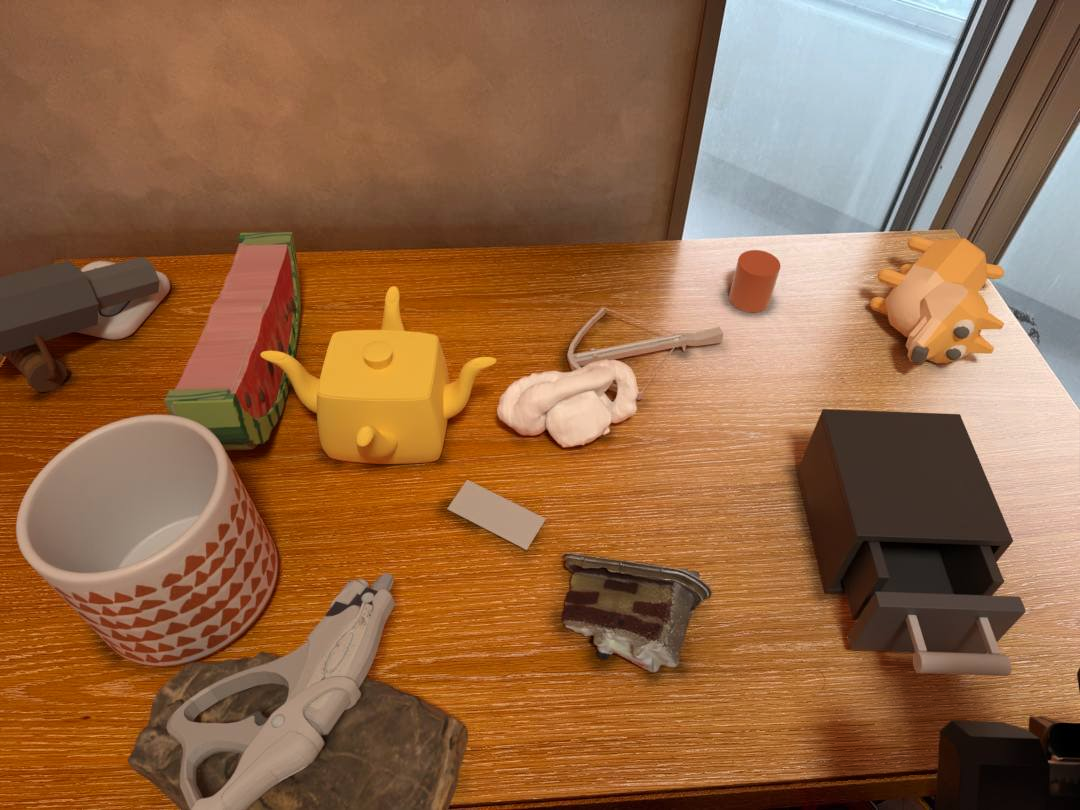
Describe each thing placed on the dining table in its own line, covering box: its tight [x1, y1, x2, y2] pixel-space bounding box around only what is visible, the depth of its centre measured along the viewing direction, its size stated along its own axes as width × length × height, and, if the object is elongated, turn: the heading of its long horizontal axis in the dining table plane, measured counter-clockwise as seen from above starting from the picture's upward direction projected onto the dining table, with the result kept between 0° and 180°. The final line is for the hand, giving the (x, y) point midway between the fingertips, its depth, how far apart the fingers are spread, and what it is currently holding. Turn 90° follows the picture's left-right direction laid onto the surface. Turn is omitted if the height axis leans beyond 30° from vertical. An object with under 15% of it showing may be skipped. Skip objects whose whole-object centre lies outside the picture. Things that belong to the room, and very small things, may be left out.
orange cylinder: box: [728, 249, 781, 313], centre depth 89 cm, size 4×4×5 cm
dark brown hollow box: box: [796, 408, 1014, 595], centre depth 68 cm, size 12×11×8 cm
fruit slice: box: [163, 231, 302, 451], centre depth 76 cm, size 26×6×10 cm, turn 3°
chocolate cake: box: [561, 551, 714, 673], centre depth 63 cm, size 10×7×12 cm
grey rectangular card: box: [447, 479, 547, 551], centre depth 70 cm, size 3×8×1 cm, turn 59°
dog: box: [869, 236, 1005, 365], centre depth 86 cm, size 8×20×13 cm
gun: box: [166, 572, 396, 810], centre depth 54 cm, size 3×19×10 cm
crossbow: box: [566, 306, 724, 401], centre depth 84 cm, size 16×13×2 cm
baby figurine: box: [496, 359, 639, 448], centre depth 76 cm, size 9×12×8 cm
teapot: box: [260, 285, 497, 465], centre depth 73 cm, size 15×14×10 cm
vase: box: [15, 413, 279, 668], centre depth 60 cm, size 14×14×13 cm
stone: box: [127, 651, 469, 810], centre depth 55 cm, size 13×21×5 cm, turn 61°
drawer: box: [842, 541, 1027, 677], centre depth 62 cm, size 16×10×7 cm, turn 179°
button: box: [74, 260, 171, 341], centre depth 87 cm, size 10×2×10 cm
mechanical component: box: [0, 256, 160, 393], centre depth 80 cm, size 10×18×10 cm, turn 139°
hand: (1035, 724), depth 49 cm, fingers closed
